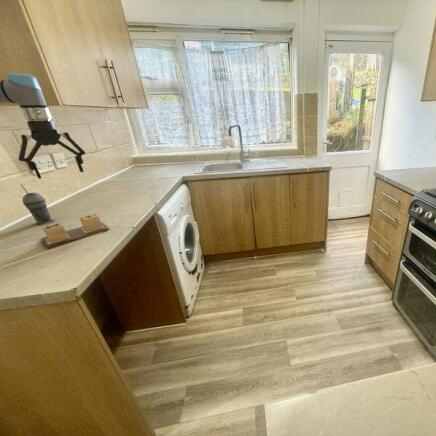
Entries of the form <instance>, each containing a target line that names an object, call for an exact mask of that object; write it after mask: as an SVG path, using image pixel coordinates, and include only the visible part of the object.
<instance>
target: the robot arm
mask: <svg viewBox="0 0 436 436" xmlns="http://www.w3.org/2000/svg"><path fill="white" fill-rule="evenodd" d="M0 104H1V105H3V104H18V105H19V107H20V110H21V112H22V116H23V117H24V119H25V120H27V121H26V124H27V127H28V130H29V131H30V134H21V135H20V139H21V144H20V148H19V153H18V158H17V159H18V161H19V162H25V163H26V164H27V166H28V168H29V170H30V171H34V172H35V174H36V177H37V178H38V180H40V179H42V176H41V174H40V171H39V169H38V166H37V164H36V162H35V161H34V160H33V159H34V158H35V156H36V154H37V152H38V151H39V149H40V148H41V146H43V147H48V146H56V145H59V146H61V148H63V149H66V150H67V151H69V152H70V153H72V154H73V155H75V156H73V157H74V158H75V162H76V164H77V167H78V171H79V172H80V173H84V168H83V166H82V165H83V164H84V160H83V157H82V156H84V155H85V154H86V151H85V150H84V149H83V148H82V147H81V146H79V144H77V142H76V141H74V139H72V137H71V136H70V134H69V132H66V131H64V132H60V133H59V132H58V130H57V128H56V125H55V122H54V121H53V120H52V119H53V117H52V115H51V112H50V110H49V107H48V105H47V102H46V99H45V97H44V94H43V91H42V88H41V86H40V84H39V82H38V80H37V78H36V76H34V75H32V74H29V73H21V72H20V73H19V72H11V73H10V72H9V73H7V74H6V79H0ZM61 137H62V138H63V139H66V140H67V141H68V142H69V144H71V145H72V146H73V147H74V148H75V149H76V150H75V149H73V148H71V147H70V146H69V145H67V144H66V143H64V142H63V141H61V140H60V139H61ZM31 140H34V141H35V144H34V145H33V146H32V149H31V150H30V152H29V154H28V155H27V157H25V156H26V152H27V148H28V147H27V146H28V142H29V141H31Z"/></svg>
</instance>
